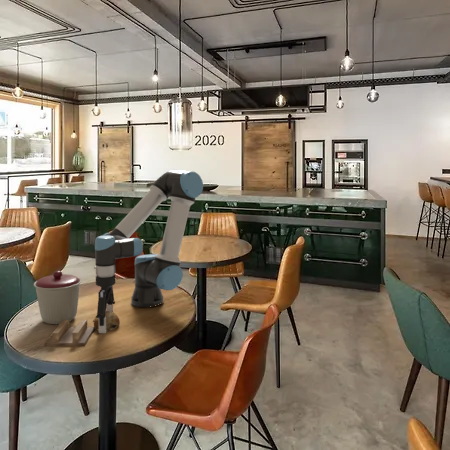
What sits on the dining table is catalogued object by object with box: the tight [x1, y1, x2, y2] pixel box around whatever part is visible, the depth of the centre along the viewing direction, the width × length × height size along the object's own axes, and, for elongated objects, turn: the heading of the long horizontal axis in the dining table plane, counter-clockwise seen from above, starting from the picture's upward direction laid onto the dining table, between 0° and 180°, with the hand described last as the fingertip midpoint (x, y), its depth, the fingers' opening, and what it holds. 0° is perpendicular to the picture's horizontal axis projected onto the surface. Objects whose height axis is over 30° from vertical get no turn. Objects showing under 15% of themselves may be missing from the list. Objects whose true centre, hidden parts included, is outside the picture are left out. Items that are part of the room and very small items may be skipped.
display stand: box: [44, 319, 96, 347], centre depth 147 cm, size 14×14×4 cm
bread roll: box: [92, 311, 121, 332], centre depth 158 cm, size 10×10×8 cm
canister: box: [33, 270, 82, 325], centre depth 162 cm, size 18×18×21 cm
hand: (106, 326), depth 158 cm, fingers open, 12 cm apart
